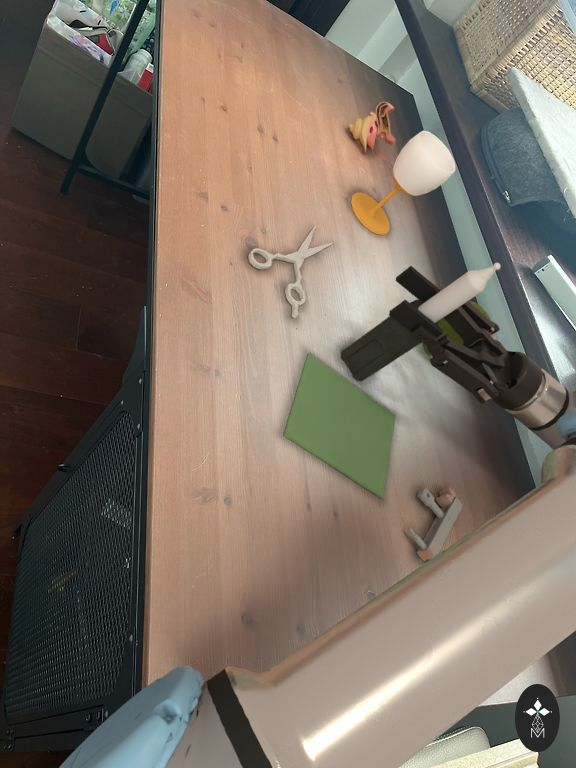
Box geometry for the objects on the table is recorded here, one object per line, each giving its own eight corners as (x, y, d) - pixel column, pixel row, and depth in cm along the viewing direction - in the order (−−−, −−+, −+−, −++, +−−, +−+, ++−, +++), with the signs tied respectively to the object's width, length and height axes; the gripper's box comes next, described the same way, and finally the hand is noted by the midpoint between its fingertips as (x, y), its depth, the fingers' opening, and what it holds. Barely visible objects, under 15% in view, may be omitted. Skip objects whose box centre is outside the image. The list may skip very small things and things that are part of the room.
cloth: (380, 498, 79) (383, 497, 79) (283, 435, 74) (285, 434, 74) (393, 415, 88) (395, 414, 88) (307, 354, 83) (309, 352, 83)
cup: (396, 230, 113) (465, 171, 102) (371, 239, 106) (442, 177, 95) (368, 190, 113) (434, 127, 102) (342, 196, 107) (409, 129, 96)
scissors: (242, 258, 82) (304, 205, 97) (239, 262, 83) (301, 208, 97) (296, 316, 84) (350, 255, 98) (293, 319, 84) (346, 258, 99)
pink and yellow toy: (344, 149, 116) (354, 94, 113) (345, 153, 125) (355, 103, 123) (393, 157, 115) (404, 102, 112) (390, 161, 125) (400, 110, 122)
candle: (337, 353, 87) (478, 249, 70) (357, 343, 91) (495, 242, 73) (357, 383, 87) (503, 287, 69) (375, 372, 90) (519, 278, 73)
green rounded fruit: (441, 334, 106) (496, 299, 98) (450, 377, 102) (509, 343, 94) (405, 319, 101) (460, 281, 93) (414, 363, 97) (471, 327, 89)
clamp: (438, 470, 85) (482, 526, 86) (426, 476, 87) (470, 530, 87) (395, 541, 74) (447, 604, 75) (383, 545, 76) (433, 607, 76)
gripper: (498, 453, 81) (369, 356, 74) (499, 353, 94) (388, 261, 86) (548, 431, 76) (414, 325, 69) (542, 328, 88) (428, 228, 81)
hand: (400, 289), depth 77 cm, fingers closed on candle, 6 cm apart
